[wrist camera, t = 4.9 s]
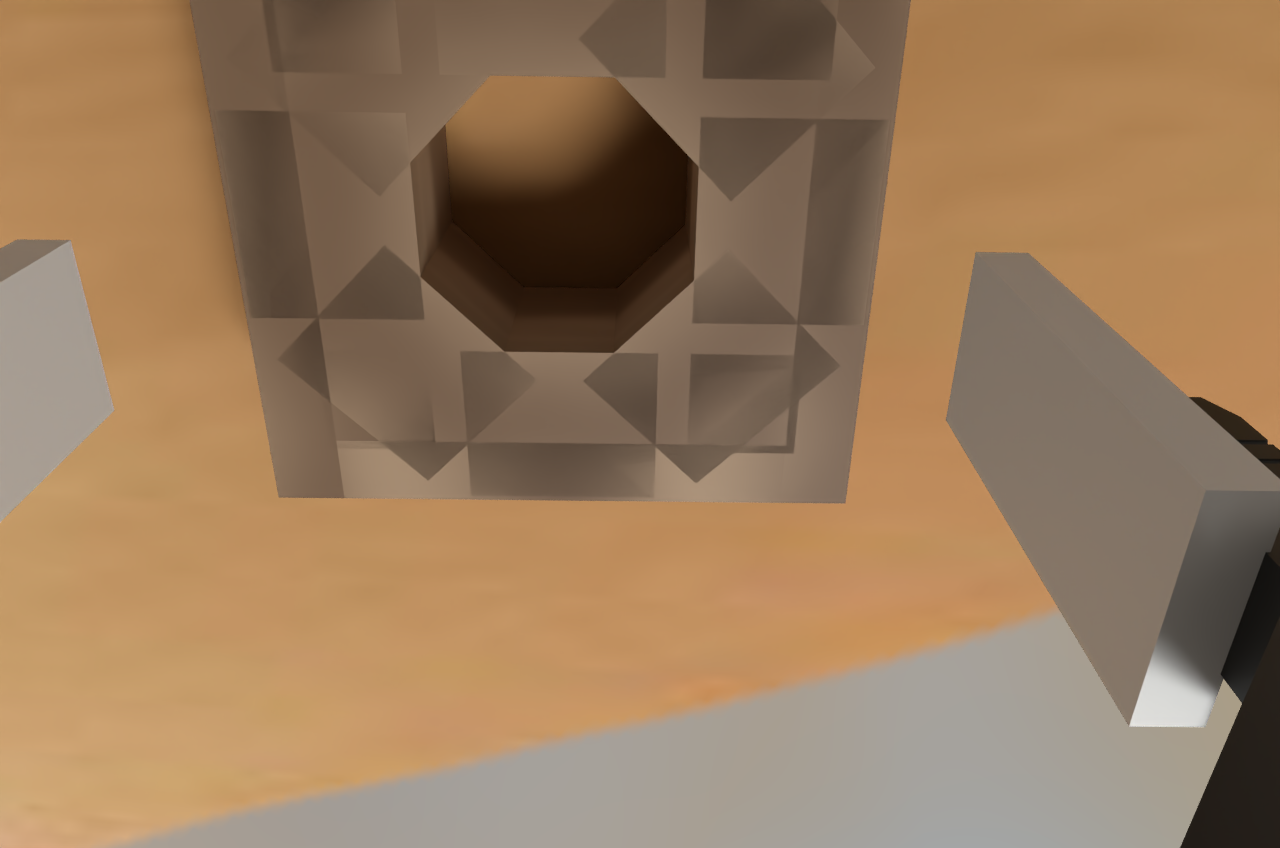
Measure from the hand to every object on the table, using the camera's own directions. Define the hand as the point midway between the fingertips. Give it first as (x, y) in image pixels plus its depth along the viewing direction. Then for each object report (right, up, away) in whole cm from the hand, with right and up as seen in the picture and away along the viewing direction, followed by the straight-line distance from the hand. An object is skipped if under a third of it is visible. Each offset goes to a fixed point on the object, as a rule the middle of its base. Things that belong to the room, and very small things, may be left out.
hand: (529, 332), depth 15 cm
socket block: (0, +4, +9) cm, 10 cm away
